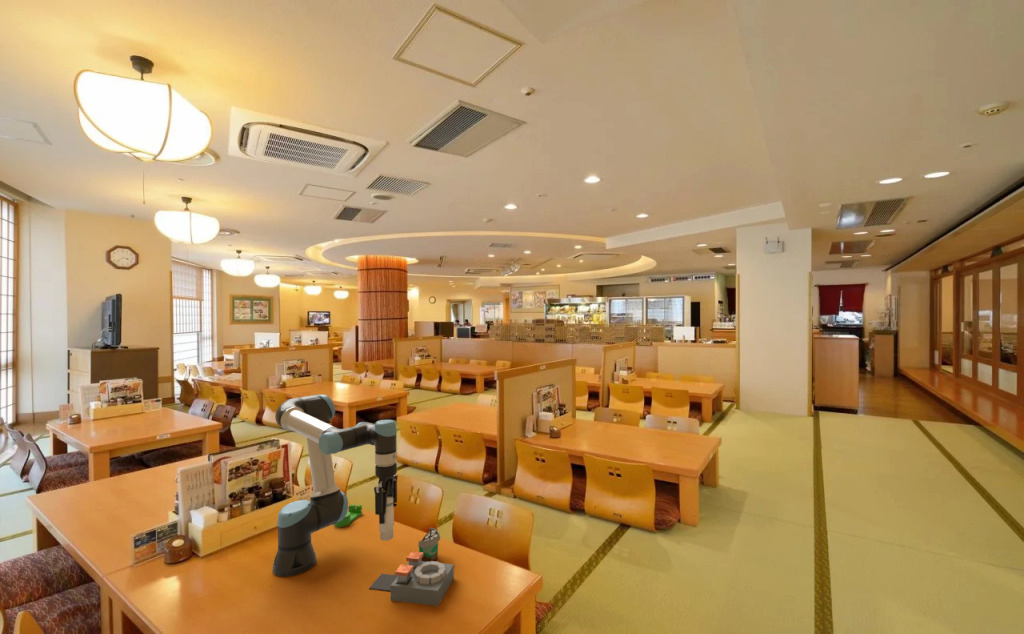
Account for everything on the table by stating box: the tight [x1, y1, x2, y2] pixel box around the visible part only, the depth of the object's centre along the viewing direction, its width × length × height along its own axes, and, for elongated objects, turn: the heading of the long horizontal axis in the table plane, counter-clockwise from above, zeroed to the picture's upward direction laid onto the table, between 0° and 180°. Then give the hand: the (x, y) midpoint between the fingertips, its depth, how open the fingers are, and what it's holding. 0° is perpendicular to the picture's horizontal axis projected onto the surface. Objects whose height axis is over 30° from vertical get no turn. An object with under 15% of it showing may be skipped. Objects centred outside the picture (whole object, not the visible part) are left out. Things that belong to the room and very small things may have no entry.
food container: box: [417, 527, 441, 562], centre depth 172 cm, size 12×6×10 cm, turn 168°
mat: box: [368, 573, 398, 592], centre depth 157 cm, size 9×9×1 cm
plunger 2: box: [406, 550, 424, 570], centre depth 159 cm, size 5×5×7 cm
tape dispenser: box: [333, 503, 363, 528], centre depth 209 cm, size 15×7×5 cm, turn 167°
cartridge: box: [379, 496, 395, 541], centre depth 158 cm, size 5×5×14 cm
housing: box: [390, 561, 455, 607], centre depth 153 cm, size 17×16×7 cm
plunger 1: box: [394, 563, 413, 585], centre depth 150 cm, size 5×5×7 cm
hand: (386, 528), depth 158 cm, fingers closed on cartridge, 4 cm apart
